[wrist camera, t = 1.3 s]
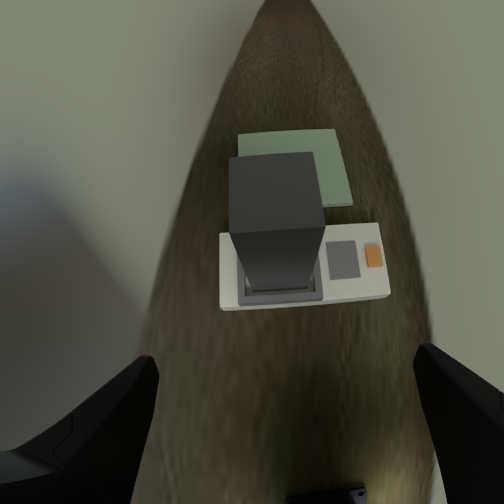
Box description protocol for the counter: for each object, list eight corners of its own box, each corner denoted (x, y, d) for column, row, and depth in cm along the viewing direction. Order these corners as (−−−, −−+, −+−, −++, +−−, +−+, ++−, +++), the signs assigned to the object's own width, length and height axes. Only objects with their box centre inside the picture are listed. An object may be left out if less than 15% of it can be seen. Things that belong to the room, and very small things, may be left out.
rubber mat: (352, 205, 26) (353, 202, 25) (240, 213, 26) (239, 210, 26) (334, 132, 29) (334, 129, 28) (238, 137, 30) (237, 134, 29)
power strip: (384, 298, 22) (395, 290, 20) (223, 310, 23) (217, 304, 21) (373, 230, 25) (381, 217, 22) (223, 240, 26) (217, 227, 23)
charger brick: (307, 288, 22) (326, 226, 12) (252, 292, 22) (228, 233, 12) (302, 238, 23) (312, 151, 14) (251, 242, 24) (228, 157, 14)
